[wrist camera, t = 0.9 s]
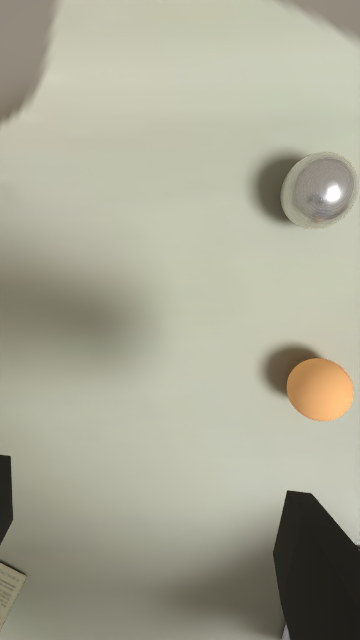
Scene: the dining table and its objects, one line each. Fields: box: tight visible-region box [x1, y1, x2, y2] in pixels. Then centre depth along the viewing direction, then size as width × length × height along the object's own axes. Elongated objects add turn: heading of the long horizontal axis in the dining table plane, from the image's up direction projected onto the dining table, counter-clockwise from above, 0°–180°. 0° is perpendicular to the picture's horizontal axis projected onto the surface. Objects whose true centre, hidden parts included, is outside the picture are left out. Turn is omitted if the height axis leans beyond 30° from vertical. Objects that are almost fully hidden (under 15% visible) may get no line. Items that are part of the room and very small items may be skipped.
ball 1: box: [280, 152, 358, 229], centre depth 14 cm, size 3×3×3 cm
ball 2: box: [287, 358, 354, 421], centre depth 17 cm, size 3×3×3 cm
